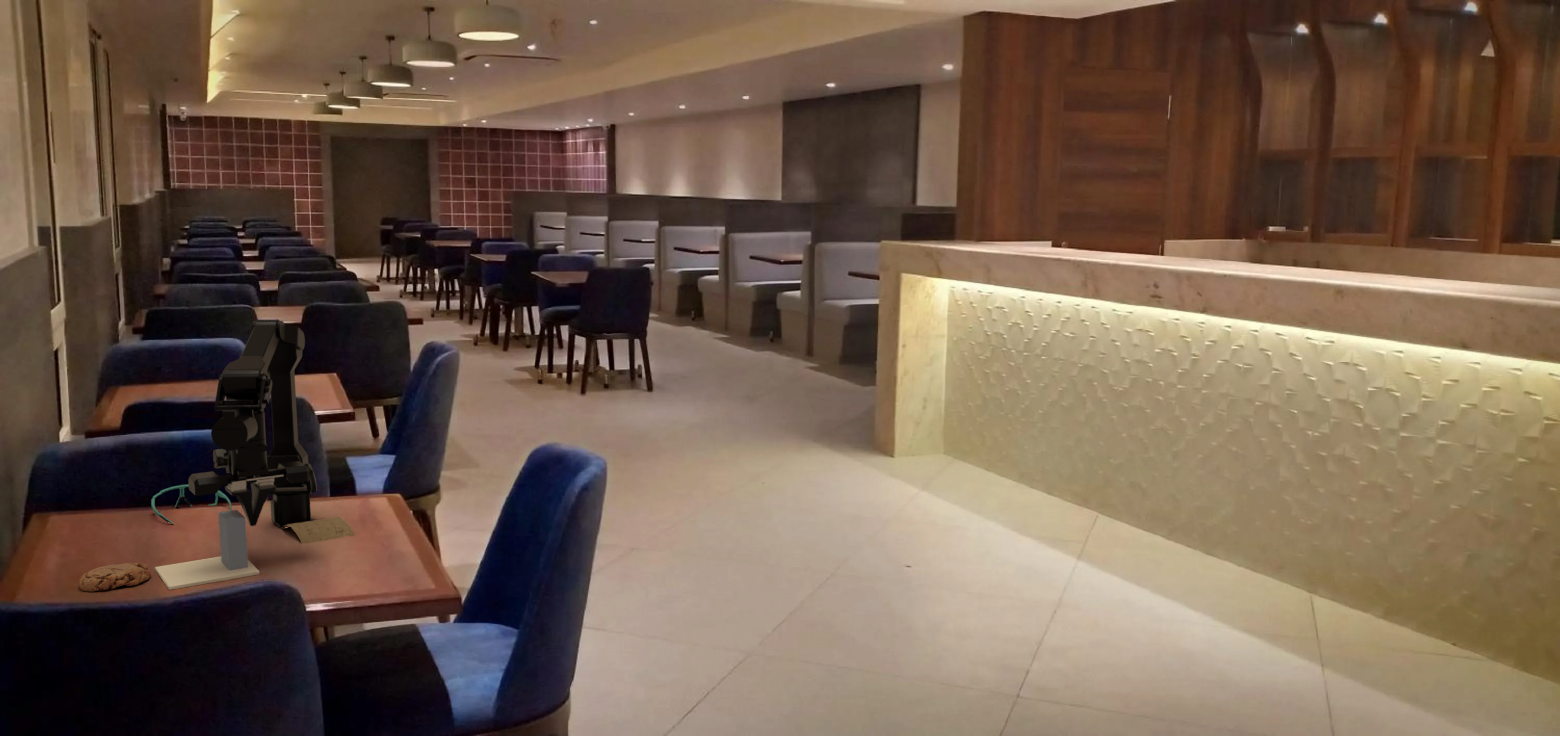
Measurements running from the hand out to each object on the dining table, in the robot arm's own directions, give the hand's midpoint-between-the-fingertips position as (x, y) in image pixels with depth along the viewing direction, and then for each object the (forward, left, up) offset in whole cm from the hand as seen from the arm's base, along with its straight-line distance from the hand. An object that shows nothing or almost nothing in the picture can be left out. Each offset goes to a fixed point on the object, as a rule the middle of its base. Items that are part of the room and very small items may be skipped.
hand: (252, 525), depth 203 cm
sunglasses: (+2, -43, -8) cm, 43 cm away
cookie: (+21, -3, -8) cm, 23 cm away
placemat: (+8, 0, -7) cm, 10 cm away
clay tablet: (-15, -14, -8) cm, 22 cm away
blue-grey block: (+3, 0, -7) cm, 7 cm away
